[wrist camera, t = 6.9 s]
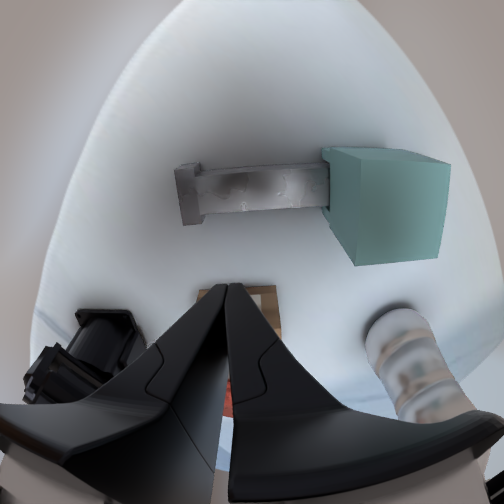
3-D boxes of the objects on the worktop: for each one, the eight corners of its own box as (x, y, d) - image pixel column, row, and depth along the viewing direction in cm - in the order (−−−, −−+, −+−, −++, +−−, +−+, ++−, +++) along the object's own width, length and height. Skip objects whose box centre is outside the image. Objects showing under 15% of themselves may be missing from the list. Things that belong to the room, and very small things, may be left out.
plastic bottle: (351, 353, 26) (404, 542, 8) (370, 298, 23) (465, 520, 5) (404, 348, 26) (471, 508, 8) (427, 296, 23) (530, 471, 5)
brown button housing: (211, 343, 25) (205, 386, 20) (198, 287, 22) (187, 329, 17) (277, 340, 24) (281, 384, 20) (275, 282, 22) (281, 325, 17)
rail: (189, 215, 19) (183, 225, 17) (181, 164, 18) (174, 169, 16) (420, 203, 19) (434, 211, 17) (423, 157, 17) (438, 162, 15)
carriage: (322, 216, 19) (354, 266, 13) (321, 144, 17) (361, 159, 10) (386, 213, 19) (437, 258, 13) (389, 145, 17) (450, 164, 10)
